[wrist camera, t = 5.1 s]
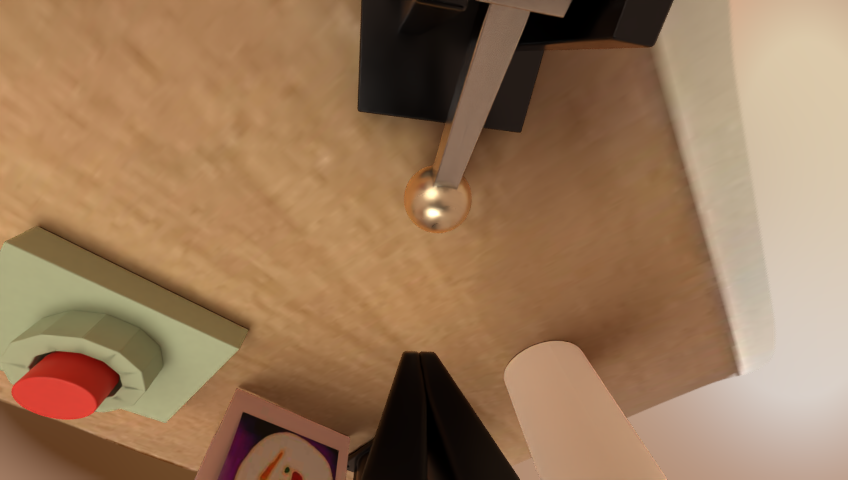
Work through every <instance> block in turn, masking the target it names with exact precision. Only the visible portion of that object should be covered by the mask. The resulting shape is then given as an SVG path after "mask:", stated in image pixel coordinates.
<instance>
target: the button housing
mask: <svg viewBox="0 0 848 480" xmlns="http://www.w3.org/2000/svg"><path fill="white" fill-rule="evenodd" d="M247 333H248V329H246V328H243V327H241V326H239V325H237V324H235V323H233V322H231V321H229V320H227V319H225V318H223V317H221V316H219V315H217V314H215V313H213V312H211V311H209V310H207V309H205V308H203V307H201V306H199V305H197V304H195V303H193V302H191V301H189V300H187V299H185V298H183V297H181V296H178V295H176V294H174V293H172V292H170V291H168V290H166V289H164V288H162V287H160V286H158V285H156V284H154V283H152V282H150V281H148V280H146V279H144V278H142V277H140V276H138V275H136V274H134V273H132V272H130V271H128V270H126V269H124V268H122V267H120V266H118V265H115V264H113V263H111V262H109V261H107V260H105V259H103V258H101V257H99V256H97V255H95V254H93V253H91V252H89V251H87V250H85V249H83V248H81V247H79V246H77V245H75V244H73V243H71V242H69V241H67V240H65V239H63V238H61V237H59V236H57V235H55V234H53V233H50V232H48V231H46V230H44V229H42V228H40V227H38V226H36V227H34V228H32V229H30V230H28V231H26V232H24V233H22V234H20V235H18V236H16V237H14V238H12V239H10V240H7V241H5V242H4V244H3V246H2V248H1V250H0V370H1V371H4V372H5V374H6V376H7V378H8V380H9V382H10V383H11V384H13V385H14V384H15V383H16V382H17V381H18V380H20V379H21V378H22V377H23V376H24V375H25V374H26V373H27V372H29V371H30V370H31V369H32V368H33V367H34V366H35V365H36V364H38V363H39V362H40V361H41V360H42V359H43V358H44V357H46V356H47V355H48V354H50V353H53V352H56V351H62V352H74V353H82V354H84V355H87V356H90V357H92V358H95V359H98V360H100V361H103V362H105V363H106V364H107V365H108V366H109V367H111V368H112V369H113V370H114V371H116V372H117V373H118V374H119V382H118V383H117V385H116V386H115V387H114V389H113V390H112V391H111V392H110V393H109V395H108V396H107V397H106V398H105V400H104V401H103V402H102V403H101V405H100V406H99V407H98V408H97V409H96V411H95V412H110V411H113V410H117V409H123V410H126V411H129V412H132V413H136V414H139V415H142V416H145V417H148V418H151V419H154V420H157V421H161V422H164V423H166V422H167V421H168V420H169V419H170V418H171V417H172V416H173V415H174V414H175V413H176V412H177V411H178V410H179V409H180V408H181V407H182V406H183V405H184V404H185V403H186V402H187V401H188V400H189V399H190V398H191V397H192V396H193V395H194V394H195V393H196V392H197V391H198V390H199V389H200V388H201V387H202V386H203V385H204V384H205V383H206V382H207V381H208V380H209V379H210V378H211V377H212V376H213V375H214V374H215V373H216V372H217V371H218V370H219V369H220V368H221V367H222V366H223V365H224V364H225V363H226V362H227V361H228V360H229V359H230V358H231V357H232V356H233V355H234V354H235V353H236V352H237V351H238V350H239V349H240V347H241V345H242V343H243V341H244V339H245V337H246V335H247Z"/></svg>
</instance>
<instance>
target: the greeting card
mask: <svg viewBox="0 0 848 480" xmlns="http://www.w3.org/2000/svg"><path fill="white" fill-rule="evenodd" d="M349 442H350V437H348V436H345V435H343V434H341V433H338V432H336V431H334V430H332V429H329V428H327V427H325V426H322V425H320V424H318V423H316V422H313V421H311V420H309V419H306V418H304V417H302V416H300V415H297V414H295V413H293V412H290V411H288V410H286V409H283V408H281V407H279V406H277V405H274V404H272V403H270V402H267V401H265V400H263V399H261V398H258V397H256V396H254V395H251V394H249V393H247V392H245V391H242V390H240V389H238V388H237V389H236V391H235V393H234V396H233V398H232V400H231V402H230V404H229V407H228V409H227V411H226V413H225V416H224V418H223V420H222V422H221V425H220V427H219V429H218V431H217V433H216V434H215V435H214V437H213V439H212V442H211V444H210V446H209V448H208V451H207V453H206V455H205V457H204V459H203V462H202V464H201V466H200V468H199V470H198V473H197V475H196V477H195V480H346V472H347V462H348V452H349Z"/></svg>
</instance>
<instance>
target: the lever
mask: <svg viewBox="0 0 848 480" xmlns="http://www.w3.org/2000/svg"><path fill="white" fill-rule="evenodd" d="M476 1H480V4H479V7H478V11H477V14H476V18H475V21H474V25H473V28H472V32H471V35H470V39H469V42H468V46H467V49H466V53H465V56H464V60H463V63H462V67H461V70H460V74H459V77H458V81H457V85H456V88H455V92H454V95H453V99H452V102H451V106H450V109H449V113H448V116H447V120H446V123H445V127H444V130H443V134H442V137H441V141H440V144H439V148H438V151H437V155H436V158H435V162H434V165H432V166H428V167H425V168H423V169H421V170H420V171H418V172H417V173H416V174H415V175H414V176H413V177H412V178H411V179H410V181H409V182H408V184H407V186H406V190H405V194H404V205H405V209H406V212H407V214H408V216H409V218H410V219H411V220H412V222H413V223H414V224H415V225H416V226H418V227H419V228H421V229H423V230H425V231H427V232H432V233H444V232H448V231H451V230H453V229H455V228H456V227H458V226H459V225H460V224H461V223H462V222H463V221H464V220H465V218H466V217H467V215H468V213H469V211H470V208H471V202H472V196H471V190H470V187H469V184H468V182H467V181H466V179H465V178H464V177H463V174H464V172H465V170H466V167H467V165H468V162H469V160H470V157H471V155H472V153H473V150H474V148H475V145H476V143H477V141H478V138H479V136H480V133H481V131H482V129H483V126H484V124H485V121H486V119H487V117H488V114H489V112H490V109H491V107H492V105H493V102H494V100H495V97H496V95H497V92H498V90H499V88H500V85H501V83H502V80H503V78H504V76H505V73H506V71H507V68H508V66H509V64H510V61H511V59H512V56H513V54H514V52H515V49H516V47H517V44H518V42H519V39H520V37H521V35H522V32H523V30H524V27H525V25H526V23H527V20H528V18H529V15H530V13H531V12H536V13H541V14H546V15H551V16H556V17H561V18H564V17H565V16H566V14H567V12H568V10H569V8H570V6H571V4H572V2H573V0H476Z"/></svg>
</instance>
